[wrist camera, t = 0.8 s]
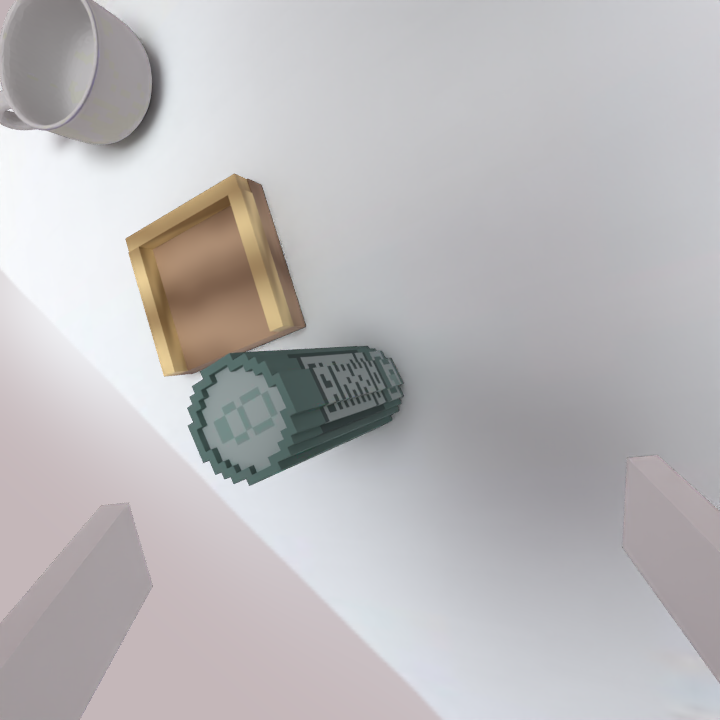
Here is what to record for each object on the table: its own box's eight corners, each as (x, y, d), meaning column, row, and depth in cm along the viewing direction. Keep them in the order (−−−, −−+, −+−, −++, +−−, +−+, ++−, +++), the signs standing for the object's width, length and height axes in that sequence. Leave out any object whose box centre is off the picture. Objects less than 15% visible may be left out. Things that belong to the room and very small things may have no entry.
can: (314, 370, 40) (172, 389, 26) (379, 333, 38) (260, 333, 24) (348, 442, 39) (219, 500, 25) (416, 408, 37) (315, 453, 23)
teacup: (162, 14, 44) (78, -50, 37) (180, 137, 44) (99, 98, 37) (54, 73, 50) (-37, 28, 43) (70, 183, 50) (-19, 156, 42)
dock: (155, 245, 46) (124, 239, 43) (261, 184, 41) (235, 173, 38) (192, 373, 45) (164, 376, 42) (306, 326, 40) (283, 326, 37)
